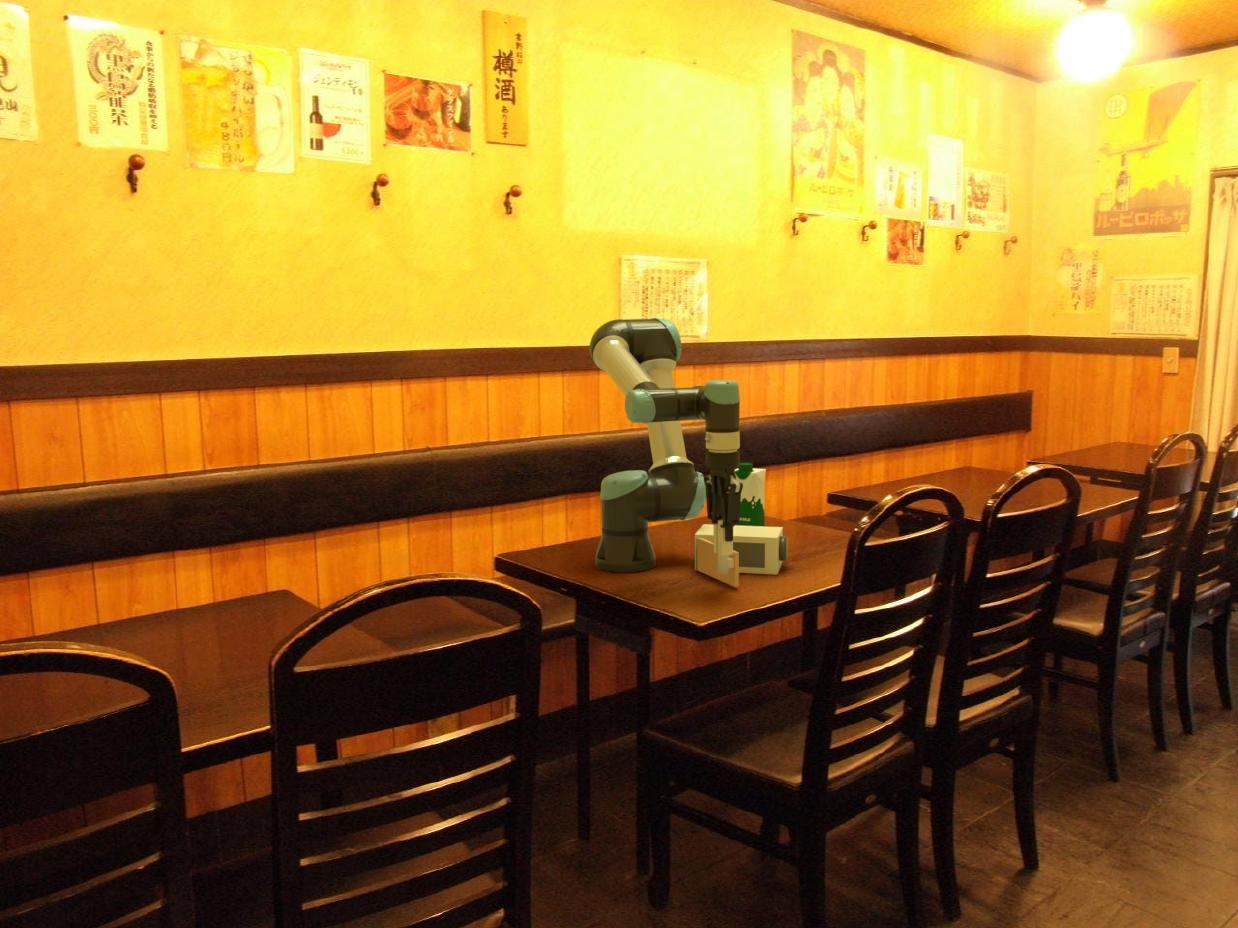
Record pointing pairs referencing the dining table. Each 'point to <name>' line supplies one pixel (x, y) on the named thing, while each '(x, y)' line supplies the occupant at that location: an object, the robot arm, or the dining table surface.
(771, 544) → the camera body
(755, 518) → the milk carton
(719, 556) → the side door
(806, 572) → the dining table surface
